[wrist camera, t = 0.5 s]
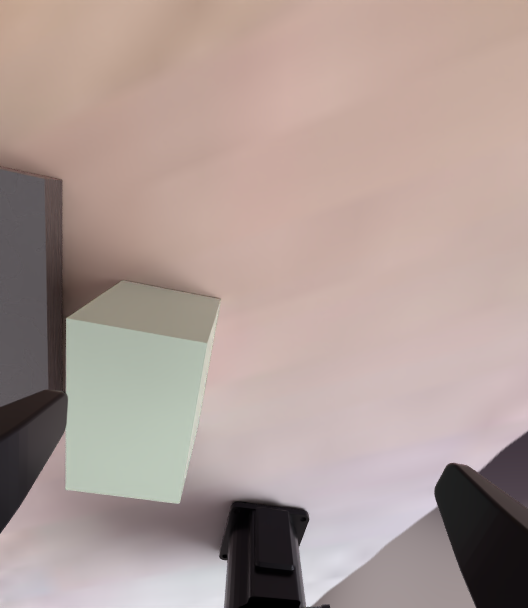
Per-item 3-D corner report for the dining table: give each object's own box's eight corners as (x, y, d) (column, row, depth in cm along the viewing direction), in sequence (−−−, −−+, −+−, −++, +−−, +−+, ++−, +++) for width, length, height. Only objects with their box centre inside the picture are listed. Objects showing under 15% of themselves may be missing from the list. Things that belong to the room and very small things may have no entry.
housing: (198, 426, 23) (179, 503, 17) (113, 413, 22) (65, 489, 16) (220, 299, 19) (207, 343, 14) (122, 280, 19) (66, 318, 13)
